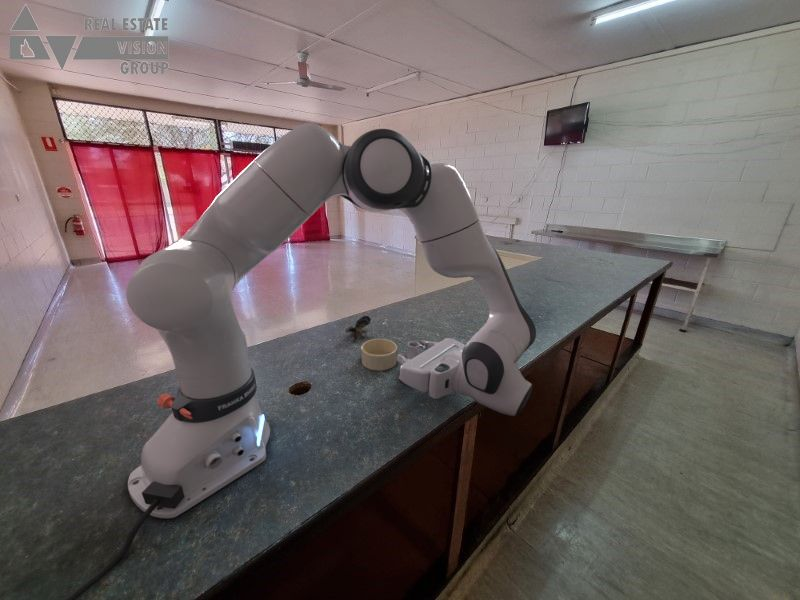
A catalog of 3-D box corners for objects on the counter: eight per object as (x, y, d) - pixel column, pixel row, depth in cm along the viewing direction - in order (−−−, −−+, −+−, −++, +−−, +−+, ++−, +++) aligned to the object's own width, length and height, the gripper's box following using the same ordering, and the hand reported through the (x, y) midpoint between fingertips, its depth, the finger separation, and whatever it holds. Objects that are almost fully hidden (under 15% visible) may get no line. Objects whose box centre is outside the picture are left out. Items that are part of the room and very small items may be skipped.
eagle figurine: (371, 340, 99) (376, 323, 107) (358, 323, 96) (363, 308, 104) (352, 349, 102) (358, 332, 110) (339, 333, 99) (345, 317, 107)
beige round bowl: (384, 374, 84) (384, 359, 82) (354, 363, 88) (354, 349, 87) (403, 357, 92) (403, 344, 90) (374, 348, 97) (374, 335, 95)
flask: (430, 375, 84) (433, 342, 80) (417, 389, 78) (419, 354, 75) (407, 367, 87) (408, 334, 84) (393, 379, 82) (393, 345, 78)
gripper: (480, 342, 78) (434, 326, 87) (432, 377, 64) (383, 353, 72) (477, 364, 81) (433, 346, 89) (430, 403, 66) (382, 376, 75)
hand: (410, 349), depth 81 cm, fingers open, 8 cm apart
